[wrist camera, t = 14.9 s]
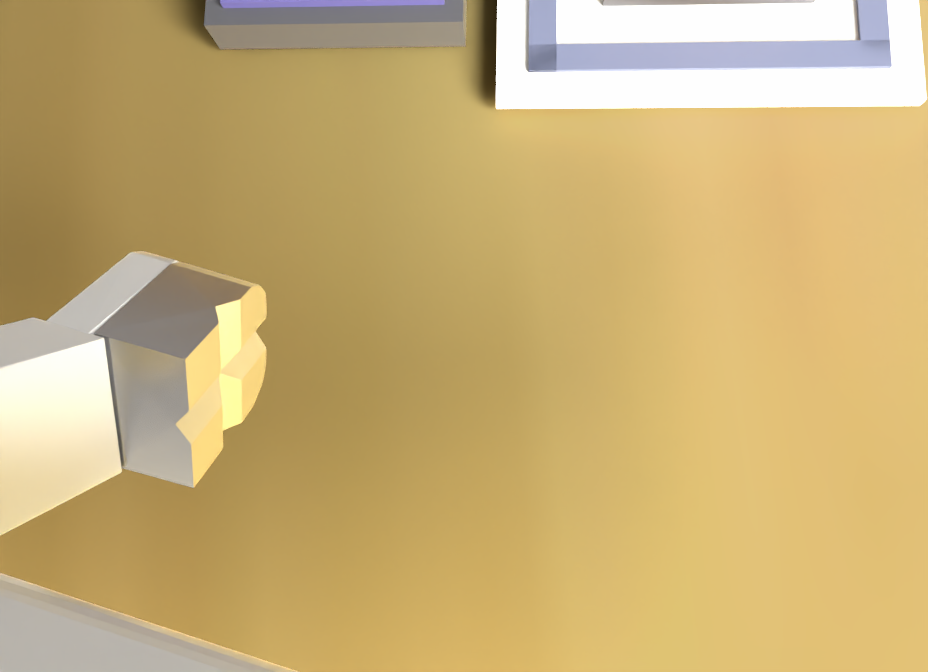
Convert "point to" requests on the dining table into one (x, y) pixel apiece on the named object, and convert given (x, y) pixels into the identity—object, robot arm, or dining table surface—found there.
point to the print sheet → (708, 54)
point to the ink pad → (335, 23)
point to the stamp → (695, 2)
